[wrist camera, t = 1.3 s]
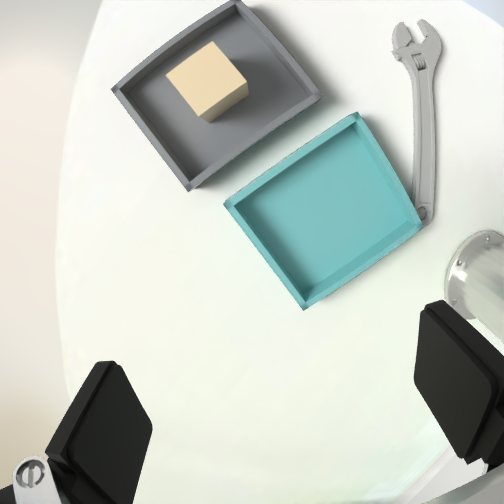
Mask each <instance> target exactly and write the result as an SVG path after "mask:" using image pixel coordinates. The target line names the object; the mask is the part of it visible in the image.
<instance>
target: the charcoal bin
mask: <svg viewBox="0 0 504 504" xmlns="http://www.w3.org/2000/svg"><path fill="white" fill-rule="evenodd" d="M212 41H213V42H214V43H215V45H216V46H217V47H218V48H219V49H220V50H221V51H222V53H223V54H224V55H225V56H226V57H227V58H228V59H229V61H230V62H231V63H232V64H233V65H234V67H235V68H236V69H237V70H238V71H239V73H240V74H241V75H242V76H243V77H244V79H245V80H246V81H247V85H248V91H249V95H248V96H247V97H245V98H244V99H242V100H241V101H239V102H238V103H237V104H235V105H234V106H232V107H231V108H230V109H228V110H227V111H225V112H224V113H223V114H221V115H220V116H219V117H217V118H216V119H214V120H213V121H212V122H210V123H208V122H207V121H205V120H203V119H202V118H200V117H199V116H198V115H197V114H196V113H195V111H194V110H193V109H192V108H191V106H190V105H189V104H188V103H187V101H186V100H185V99H184V97H183V96H182V95H181V94H180V92H179V91H178V90H177V89H176V87H175V86H174V85H173V84H172V83H171V81H170V80H169V79H168V78H167V76H166V74H168V73H169V72H170V71H171V70H173V69H174V68H175V67H177V66H178V65H179V64H181V63H182V62H183V61H185V60H186V59H187V58H189V57H190V56H192V55H193V54H194V53H196V52H197V51H199V50H200V49H201V48H203V47H204V46H206V45H207V44H209V43H210V42H212ZM111 90H112V92H113V93H114V94H115V96H116V97H117V98H118V100H119V101H120V102H121V104H122V105H123V106H124V108H125V109H126V110H127V112H128V113H129V114H130V116H131V117H132V119H133V120H134V121H135V123H136V124H137V125H138V127H139V128H140V129H141V131H142V132H143V133H144V134H145V136H146V137H147V138H148V140H149V141H150V142H151V144H152V145H153V146H154V148H155V149H156V150H157V152H158V153H159V154H160V156H161V157H162V158H163V160H164V161H165V162H166V164H167V165H168V166H169V168H170V169H171V170H172V172H173V173H174V174H175V175H176V177H177V178H178V179H179V181H180V182H181V183H182V185H183V186H184V187H185V189H186V190H187V191H188V192H189V191H191V190H193V189H195V188H196V187H197V186H199V185H200V184H201V183H203V182H204V181H205V180H206V179H208V178H209V177H210V176H212V175H213V174H214V173H216V172H217V171H218V170H220V169H221V168H222V167H224V166H225V165H226V164H228V163H229V162H230V161H232V160H233V159H234V158H236V157H237V156H239V155H240V154H241V153H243V152H244V151H245V150H247V149H248V148H250V147H251V146H252V145H254V144H255V143H257V142H258V141H260V140H261V139H262V138H264V137H265V136H267V135H268V134H270V133H271V132H272V131H274V130H275V129H277V128H278V127H280V126H281V125H283V124H284V123H286V122H287V121H289V120H290V119H292V118H293V117H295V116H296V115H298V114H299V113H301V112H302V111H304V110H305V109H307V108H308V107H310V106H311V105H313V104H315V103H316V102H318V101H319V100H320V99H321V98H322V97H323V95H322V94H321V92H320V91H319V90H318V88H317V87H316V86H315V84H314V83H313V82H312V81H311V79H310V78H309V77H308V75H307V74H306V73H305V72H304V70H303V69H302V68H301V67H300V65H299V64H298V63H297V62H296V61H295V59H294V58H293V57H292V56H291V55H290V53H289V52H288V51H287V50H286V49H285V47H284V46H283V45H282V44H281V43H280V42H279V40H278V39H277V38H276V37H275V36H274V35H273V34H272V33H271V31H270V30H269V29H268V28H267V27H266V26H265V25H264V24H263V23H262V22H261V21H260V20H259V18H258V17H257V16H256V15H255V14H254V13H253V12H252V11H251V10H250V9H249V8H248V7H247V6H246V5H245V4H244V3H243V2H242V1H241V0H230V1H228V2H226V3H225V4H223V5H221V6H220V7H218V8H216V9H215V10H213V11H212V12H210V13H208V14H207V15H205V16H204V17H202V18H201V19H199V20H198V21H196V22H195V23H193V24H192V25H190V26H189V27H187V28H186V29H184V30H183V31H182V32H180V33H179V34H177V35H176V36H175V37H173V38H172V39H170V40H169V41H168V42H166V43H165V44H164V45H162V46H161V47H160V48H159V49H157V50H156V51H155V52H153V53H152V54H151V55H150V56H148V57H147V58H146V59H145V60H143V61H142V62H141V63H140V64H139V65H137V66H136V67H135V68H134V69H133V70H132V71H130V72H129V73H128V74H127V75H126V76H125V77H124V78H122V79H121V80H120V81H119V82H118V83H117V84H116V85H115V86H114V87H112V88H111Z"/></svg>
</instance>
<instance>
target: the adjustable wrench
mask: <svg viewBox="0 0 504 504" xmlns="http://www.w3.org/2000/svg"><path fill="white" fill-rule="evenodd" d="M417 24H418V26H419V28H420V30H421V32H422V34H423V36H424V38H425V40H424V41H423V42H422V44H414V43H412V42H410V40H411V39H412V38H411V36H410V34H409V32H408V30H407V28H406V26H405V25H404V23H403V22H400V23H399V24H397V25H396V26H395V28H394V31H393V34H392V43H393V49H394V50H393V51H392V54H393V55H394V56H395V59H396V60H400V61H401V62H402V63H403V65H404V66H405V68H406V69H407V71H408V73H409V75H410V78H411V82H412V92H413V118H414V155H413V182H412V199H411V202H412V204H413V206H414V208H415V210H416V212H417V210H418V209H419V207H423V208H425V210H426V217H425V219H424V220H422V221H421V222H422V224H423V226H426V225H428V224H429V223H430V222H431V220H432V217H433V204H434V185H435V124H434V105H433V92H432V78H433V73H434V69H435V66H436V63H437V60H438V58H439V55H440V53H441V40H440V38H439V35H438V34H437V32H436V30H435V29H434V28H433V27H432V26H431V25H430V24H429V23H428V22H426V21H425V20H420V21H418V22H417ZM421 68H422V69H423V68H424V70H420V71H418V69H421Z"/></svg>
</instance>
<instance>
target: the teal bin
mask: <svg viewBox="0 0 504 504" xmlns="http://www.w3.org/2000/svg"><path fill="white" fill-rule="evenodd" d="M223 205H224V206H225V207H226V209H227V210H228V211H229V213H230V214H231V215H232V217H233V218H234V219H235V221H236V222H237V223H238V225H239V226H240V227H241V228H242V230H243V231H244V232H245V234H246V235H247V236H248V238H249V239H250V240H251V242H252V243H253V244H254V246H255V247H256V248H257V250H258V251H259V252H260V254H261V255H262V256H263V258H264V259H265V260H266V262H267V263H268V264H269V266H270V267H271V268H272V269H273V271H274V272H275V273H276V275H277V276H278V277H279V279H280V280H281V281H282V283H283V284H284V285H285V287H286V288H287V289H288V291H289V292H290V293H291V295H292V296H293V297H294V299H295V300H296V301H297V303H298V304H299V305H300V307H301V308H302V309H303V311H304V310H305V309H307V308H309V307H310V306H312V305H313V304H315V303H316V302H318V301H319V300H321V299H323V298H324V297H326V296H327V295H329V294H330V293H332V292H333V291H335V290H336V289H338V288H339V287H341V286H342V285H344V284H345V283H347V282H348V281H350V280H351V279H353V278H354V277H355V276H357V275H358V274H360V273H361V272H363V271H364V270H366V269H367V268H368V267H370V266H371V265H373V264H374V263H376V262H377V261H378V260H380V259H381V258H383V257H384V256H385V255H387V254H388V253H390V252H391V251H392V250H394V249H395V248H397V247H398V246H399V245H401V244H402V243H403V242H405V241H406V240H407V239H409V238H410V237H411V236H413V235H414V234H415V233H417V232H418V231H419V230H421V229H422V228H423V227H424V226H423V224H422V222H421V220H420V218H419V216H418V214H417V212H416V210H415V208H414V206H413V204H412V202H411V200H410V198H409V196H408V195H407V193H406V191H405V189H404V187H403V185H402V183H401V182H400V180H399V178H398V176H397V174H396V173H395V171H394V169H393V167H392V166H391V164H390V162H389V161H388V159H387V157H386V156H385V154H384V152H383V151H382V149H381V147H380V146H379V144H378V142H377V141H376V139H375V138H374V136H373V134H372V133H371V131H370V130H369V128H368V127H367V125H366V124H365V122H364V121H363V119H362V118H361V116H360V115H359V113H358V112H355V113H353V114H350V115H348V116H347V117H345V118H344V119H342V120H341V121H339V122H338V123H336V124H335V125H333V126H332V127H330V128H328V129H327V130H325V131H324V132H322V133H321V134H319V135H318V136H316V137H315V138H313V139H312V140H310V141H309V142H308V143H306V144H305V145H303V146H302V147H300V148H299V149H297V150H296V151H294V152H293V153H291V154H290V155H289V156H287V157H286V158H284V159H283V160H281V161H280V162H278V163H277V164H276V165H274V166H273V167H271V168H270V169H268V170H267V171H266V172H264V173H263V174H261V175H260V176H259V177H257V178H256V179H254V180H253V181H252V182H250V183H249V184H248V185H246V186H245V187H243V188H242V189H241V190H239V191H238V192H237V193H235V194H234V195H232V196H231V197H230V198H228V199H227V200H226V201H225V202H224V204H223Z"/></svg>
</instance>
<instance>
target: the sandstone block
mask: <svg viewBox="0 0 504 504" xmlns="http://www.w3.org/2000/svg"><path fill="white" fill-rule="evenodd" d="M166 76H167V78H168V79H169V80H170V81H171V83H172V84H173V85H174V86H175V87H176V89H177V90H178V91H179V92H180V94H181V95H182V96H183V97H184V99H185V100H186V101H187V103H188V104H189V105H190V106H191V108H192V109H193V110H194V111H195V113H196V114H197V115H198V116H199V117H200V118H202V119H203V120H205V121H207V122H208V123H210V122H212V121H213V120H214V119H216V118H217V117H219V116H220V115H221V114H223V113H224V112H225V111H227V110H228V109H230V108H231V107H232V106H234V105H235V104H237V103H238V102H239V101H241V100H242V99H244V98H245V97H247V96H248V95H249V91H248V85H247V81H246V80H245V79H244V77H243V76H242V75H241V74H240V73H239V71H238V70H237V69H236V68H235V67H234V65H233V64H232V63H231V62H230V61H229V59H228V58H227V57H226V56H225V55H224V54H223V53H222V51H221V50H220V49H219V48H218V47H217V46H216V45H215V43H214V42H213V41H212V42H210V43H209V44H207V45H206V46H204V47H203V48H201V49H200V50H199V51H197V52H196V53H194V54H193V55H192V56H190V57H189V58H187V59H186V60H185V61H183V62H182V63H181V64H179V65H178V66H177V67H175V68H174V69H173V70H171V71H170V72H169V73H168V74H166Z"/></svg>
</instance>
